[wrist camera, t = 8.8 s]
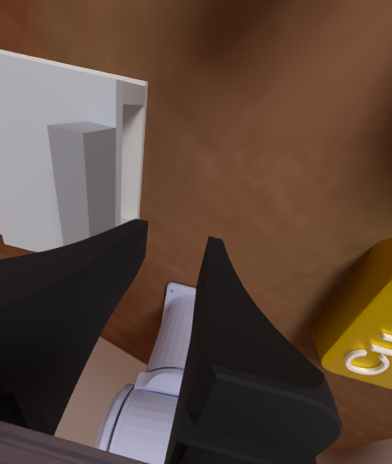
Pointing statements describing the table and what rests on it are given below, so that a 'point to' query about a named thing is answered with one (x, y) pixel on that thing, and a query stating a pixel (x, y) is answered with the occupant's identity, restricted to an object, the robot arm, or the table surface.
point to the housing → (131, 135)
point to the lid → (58, 154)
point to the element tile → (360, 322)
